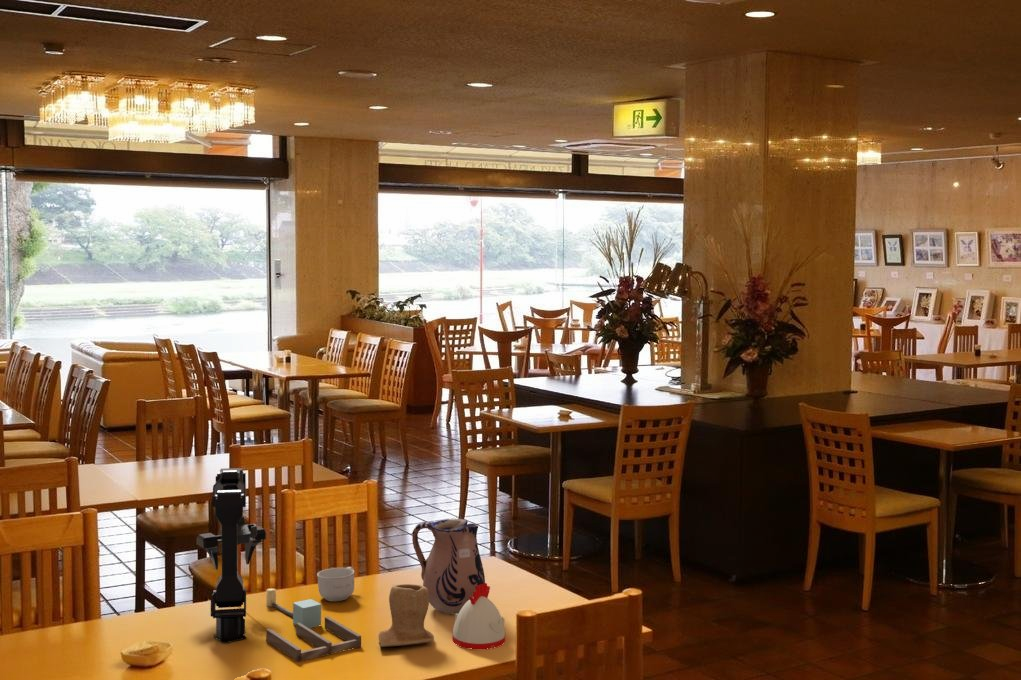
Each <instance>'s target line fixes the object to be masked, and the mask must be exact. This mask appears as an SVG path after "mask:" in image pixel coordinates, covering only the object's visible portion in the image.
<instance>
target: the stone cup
mask: <svg viewBox="0 0 1021 680" xmlns="http://www.w3.org/2000/svg"><path fill="white" fill-rule="evenodd" d="M388 603H389V610H390V614H391V626H390V628H388V629H385V630H382V631H379V633H378V645H379V647H380V648H388V647H401V646H402V647H403V646H410V645H419V644H424V643H425V644H427V643H430V642H433V641H434V639H435V636H434V634H433V633H432V632H430V631H429V630H427V629H426V628H425V621H426V620H425V619H426V616H427V613H428V610H429V606H430V603H429V591H428V589H427V588H426V587H424V586H423V585H421V584H411V583H409V584H408V583H407V584H396V585H395V584H394V585H392V586H391V589H390V592H389V596H388Z"/></svg>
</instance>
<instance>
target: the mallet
mask: <svg viewBox="0 0 1021 680" xmlns="http://www.w3.org/2000/svg"><path fill="white" fill-rule="evenodd" d="M265 592H266V602H265V603H266V604H265V605H266V607H269V608H272V607H273V608H275V609H277V610H279V611H280V612H281V613H285V614H286V615H288V616H290V617H292V625H293V624H294V625H293V626H295V625H296V623H299V622H300V623H301V624H303V625H304V626H306V627H308V628H309V629H313V628H312V627H314V628H316V627H315V626H318V627H320V626H319V625H321V626H322V603H320V602H317V601H316V600H314V599H312V598H310V599H309V598H308V599H305V600H299V601H295V602H292V611H290V610H288V609H287V608H284V607H283V606H281V605H279V604H278V603H277V594H276V593H277V589H276V588H267V589H266V591H265Z"/></svg>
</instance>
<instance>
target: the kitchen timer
mask: <svg viewBox="0 0 1021 680" xmlns="http://www.w3.org/2000/svg"><path fill="white" fill-rule="evenodd" d="M490 590H491V585H488V583H486V582H485V583H484V585H482V584H480V586H478V585H477V586H476V591H473V597H470V600H468V601H467V602H466V603H465V604H464V606H463V607H462V609H461V610H460V612H459V614H457V613H456V614H454V615H455V616H454V625H453V630H452V643H453V642H454V643H455V644H457V645H459V646H461V647H460V648H462V647H465V648H464V649H466V648H472V649H471V650H473V649H485V650H491V649H490V648H492V649H495V648H494V647H496V648H498V646H499V647H501V646H503V645H504V644H505V642H506V631H505V618H504V617H503V616H501V613H500V610H499V609H498V608H497V605H496V604H495V603H494V602H493V601H491V600H490V599H489V598H488V597H489V595H490ZM503 643H504V644H503ZM455 644H454V645H455ZM502 644H503V645H502ZM457 645H456V646H457ZM500 645H501V646H500ZM459 646H458V647H459ZM487 648H488V649H487Z"/></svg>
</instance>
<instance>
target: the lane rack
mask: <svg viewBox="0 0 1021 680" xmlns="http://www.w3.org/2000/svg"><path fill="white" fill-rule="evenodd" d="M324 628H325V629H326V630H327V629H328V630H327V631H329V632H330V633H332V632H333V634H334V635H335V636H337V635H338V636H337V637H339V636H340V637H339V638H340V639H342V638H343V640H344V639H345V640H344V641H342V642H337V643H333V642H332V641H330V640H328V639H327V638H326V637H324V636H322V635H320V633H317V632H316V631H314V630H313V629H312V628H308V627H306V626H304V625H303V624H301V623H300V622H299V623H296V626H295V635H297V636H298V637H300V638H301V639H303V640H305V641H306V642H308V643H309V644H310V645H312V646H314V647H315V648H311V649H307V650H302V649H301V648H300V647H299V646H297V645H296V644H294V643H293V642H291V641H289V640H288V639H286V638H284V637H283V636H282V635H280V634H279V633H277V632H275V631H274V630H272V629H271V628H267V629H266V630H265V631H266V632H265V637H266V638H265V641H266V642H267V643H269V644H271V645H272V646H274V647H275V648H276V649H278V650H279V651H281V652H283V653H284V654H285V655H286V656H288V657H289V658H291V659H293V660H294V661H296V662H297V663H298V662H302V661H307V660H311V659H316V658H320V657H324V655H325V656H328V655H327V654H329V655H333V654H336V653H335V652H338V653H341V652H340V651H342V652H344V651H343V650H346V651H349V650H348V649H351V650H353V649H352V648H355V649H358V648H357V647H359V648H362V635H361V634H359V633H357V632H355V631H353V630H352V629H351V628H349V627H347V626H345V625H344V624H342V623H340V622H339V621H337V620H336V619H333V618H331V617H330V616H324ZM346 640H347V641H346ZM332 653H333V654H332Z"/></svg>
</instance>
